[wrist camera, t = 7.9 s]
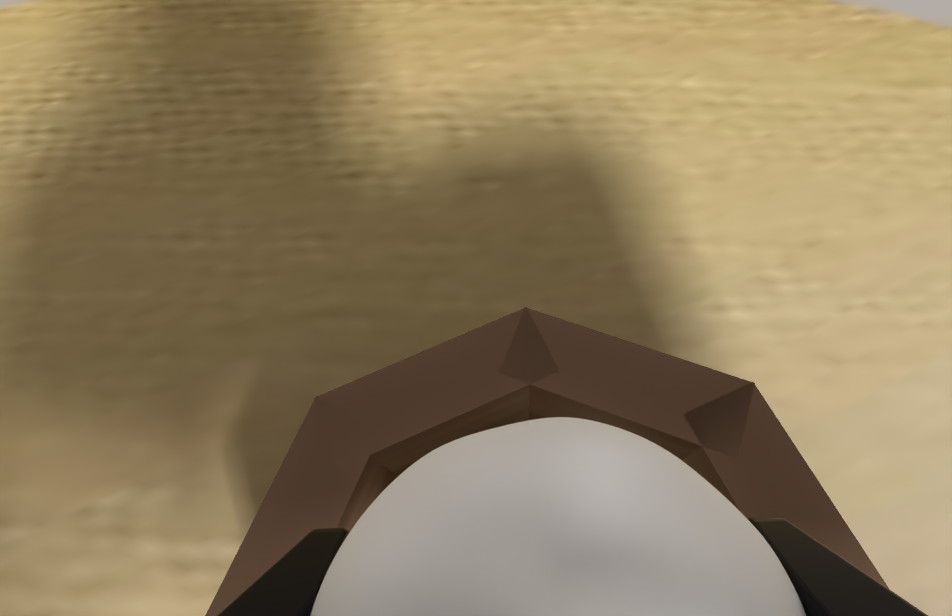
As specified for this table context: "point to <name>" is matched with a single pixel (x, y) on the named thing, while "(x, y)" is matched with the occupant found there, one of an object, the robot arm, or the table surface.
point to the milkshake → (554, 534)
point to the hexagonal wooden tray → (521, 399)
